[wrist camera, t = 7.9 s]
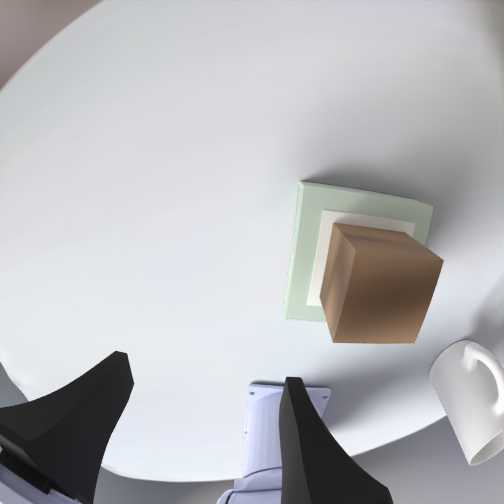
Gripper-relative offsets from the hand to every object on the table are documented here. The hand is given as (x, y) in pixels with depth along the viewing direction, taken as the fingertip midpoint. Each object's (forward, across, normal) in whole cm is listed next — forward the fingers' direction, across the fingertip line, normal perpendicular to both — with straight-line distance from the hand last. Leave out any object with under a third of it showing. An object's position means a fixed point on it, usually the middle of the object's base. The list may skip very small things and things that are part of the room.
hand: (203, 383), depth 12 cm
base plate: (+10, -9, -3) cm, 14 cm away
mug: (+10, -23, +6) cm, 26 cm away
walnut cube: (+8, -9, -3) cm, 12 cm away
